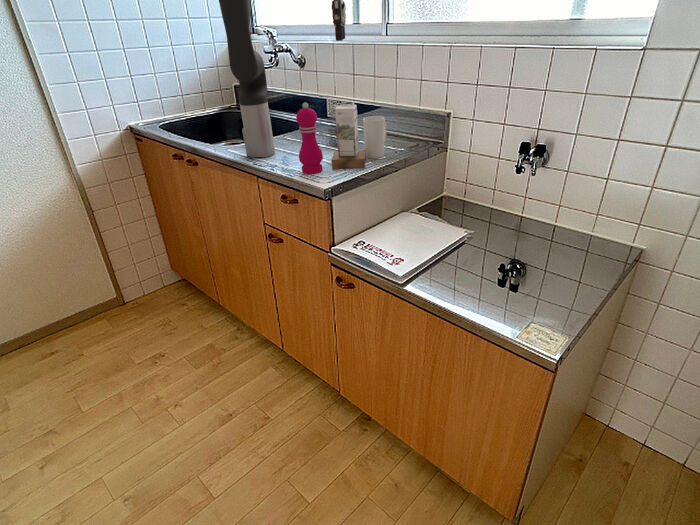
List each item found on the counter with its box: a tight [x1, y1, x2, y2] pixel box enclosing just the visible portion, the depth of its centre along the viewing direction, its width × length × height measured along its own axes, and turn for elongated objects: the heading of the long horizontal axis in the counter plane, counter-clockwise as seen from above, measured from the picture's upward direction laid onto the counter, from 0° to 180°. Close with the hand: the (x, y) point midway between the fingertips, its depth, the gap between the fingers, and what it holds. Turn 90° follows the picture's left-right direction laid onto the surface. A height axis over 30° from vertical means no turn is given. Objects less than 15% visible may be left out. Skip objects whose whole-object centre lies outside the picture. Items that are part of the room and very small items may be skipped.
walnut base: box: [331, 149, 367, 171], centre depth 133 cm, size 10×10×3 cm
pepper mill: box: [296, 102, 324, 175], centre depth 125 cm, size 7×7×20 cm
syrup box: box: [334, 104, 360, 157], centre depth 129 cm, size 6×6×14 cm
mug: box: [362, 115, 387, 160], centre depth 138 cm, size 10×7×12 cm, turn 141°
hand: (340, 40), depth 133 cm, fingers open, 8 cm apart
